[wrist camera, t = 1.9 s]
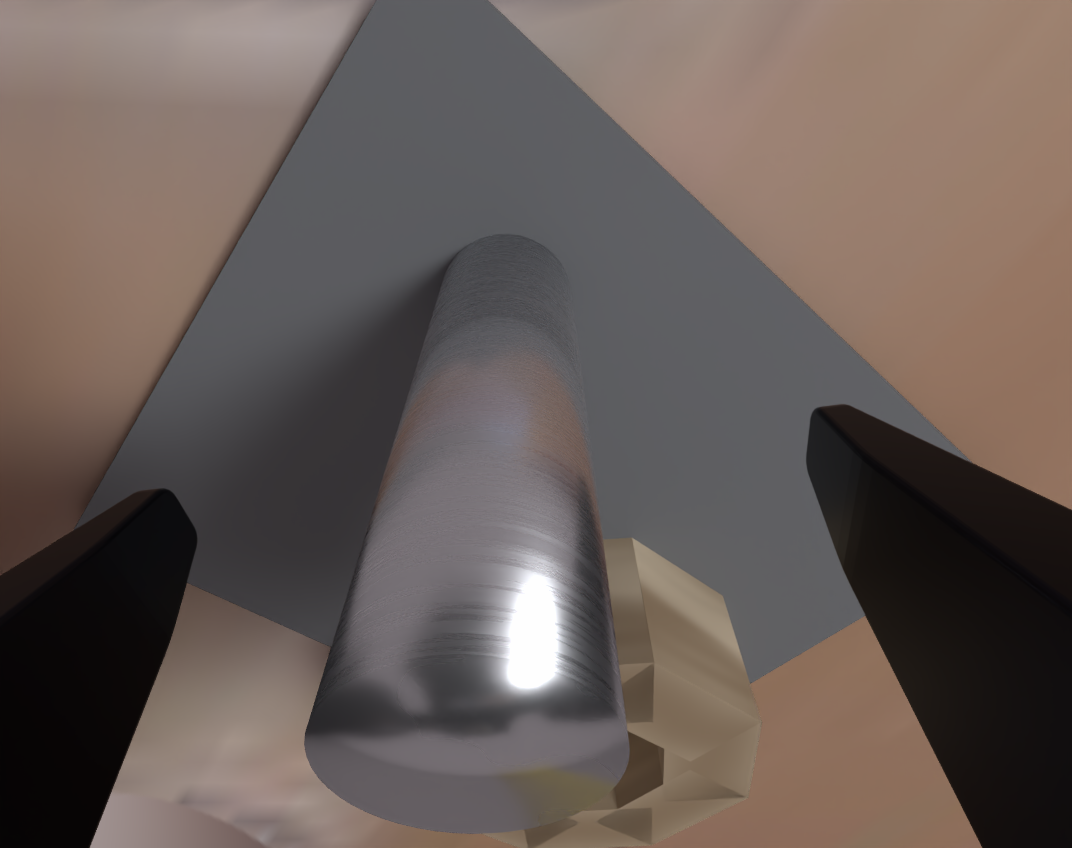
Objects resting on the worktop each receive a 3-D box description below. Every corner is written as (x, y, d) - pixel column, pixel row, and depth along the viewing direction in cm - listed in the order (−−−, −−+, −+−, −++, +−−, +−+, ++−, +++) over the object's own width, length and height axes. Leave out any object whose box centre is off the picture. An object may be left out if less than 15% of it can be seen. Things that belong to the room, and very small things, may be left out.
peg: (415, 306, 14) (246, 770, 6) (494, 205, 13) (424, 608, 4) (517, 377, 15) (497, 858, 7) (598, 290, 14) (697, 746, 5)
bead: (374, 657, 21) (344, 784, 18) (558, 490, 17) (564, 613, 14) (584, 753, 24) (592, 874, 21) (780, 632, 20) (827, 758, 17)
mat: (85, 516, 18) (72, 531, 18) (420, -65, 11) (414, -68, 10) (603, 754, 25) (604, 769, 25) (1015, 504, 18) (1028, 518, 18)
